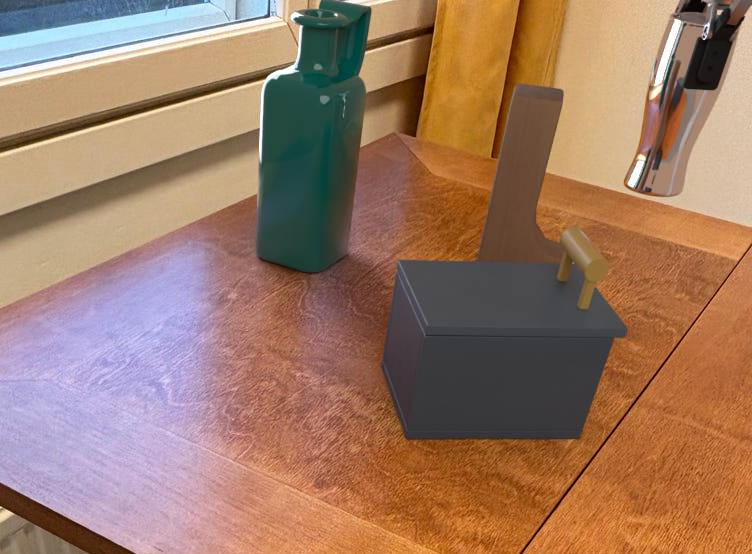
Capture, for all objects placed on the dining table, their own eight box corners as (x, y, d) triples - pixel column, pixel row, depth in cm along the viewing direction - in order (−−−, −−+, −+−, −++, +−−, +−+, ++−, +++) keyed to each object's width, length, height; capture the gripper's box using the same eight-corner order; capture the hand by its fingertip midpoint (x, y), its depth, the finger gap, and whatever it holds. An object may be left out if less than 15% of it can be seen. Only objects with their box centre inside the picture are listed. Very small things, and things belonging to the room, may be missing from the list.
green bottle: (316, 278, 92) (339, 25, 76) (247, 257, 95) (256, 8, 79) (359, 248, 98) (389, 8, 83) (294, 229, 101) (311, -7, 85)
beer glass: (659, 203, 91) (716, 29, 81) (605, 183, 95) (652, 14, 85) (699, 191, 94) (759, 22, 84) (645, 172, 98) (696, 8, 88)
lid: (575, 272, 75) (593, 213, 72) (625, 338, 67) (648, 275, 64) (396, 268, 73) (405, 208, 70) (425, 335, 65) (437, 270, 62)
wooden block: (559, 289, 94) (615, 94, 81) (557, 307, 90) (615, 107, 78) (473, 275, 95) (515, 81, 82) (469, 292, 92) (512, 94, 79)
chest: (537, 368, 81) (565, 272, 75) (579, 439, 73) (615, 338, 67) (380, 367, 80) (396, 269, 73) (405, 439, 72) (425, 336, 65)
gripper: (852, -155, 69) (755, 104, 82) (770, -167, 82) (697, 60, 94) (756, -160, 69) (674, 100, 82) (688, -172, 82) (626, 56, 94)
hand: (687, 77), depth 88 cm, fingers closed on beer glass, 7 cm apart
